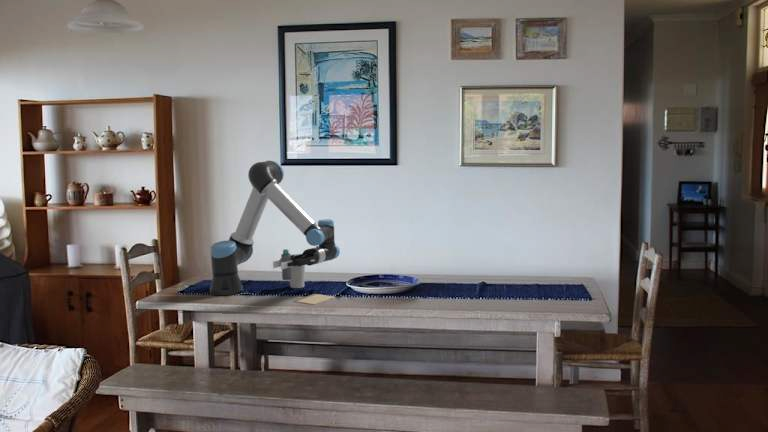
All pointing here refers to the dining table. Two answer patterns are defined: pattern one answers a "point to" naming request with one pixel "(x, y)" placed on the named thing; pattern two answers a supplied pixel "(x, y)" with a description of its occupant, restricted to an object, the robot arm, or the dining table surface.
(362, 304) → the dining table surface
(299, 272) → the coffee cup
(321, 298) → the notepad
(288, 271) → the grey bottle
